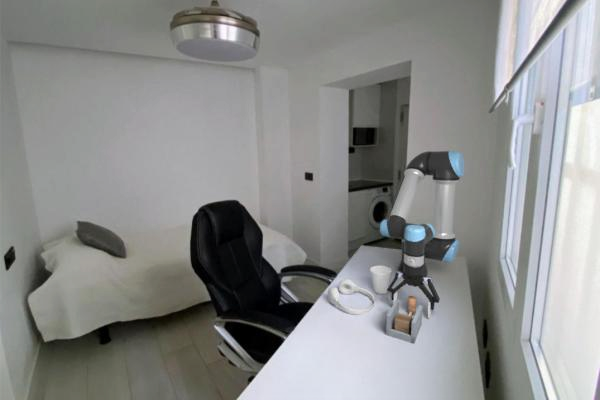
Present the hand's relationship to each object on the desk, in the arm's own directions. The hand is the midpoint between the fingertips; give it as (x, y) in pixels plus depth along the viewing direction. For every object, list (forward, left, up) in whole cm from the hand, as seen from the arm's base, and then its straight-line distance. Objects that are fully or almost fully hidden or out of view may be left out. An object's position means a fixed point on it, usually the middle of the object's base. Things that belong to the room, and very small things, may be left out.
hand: (411, 311), depth 124 cm
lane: (+12, 0, -1) cm, 13 cm away
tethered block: (+8, 0, -1) cm, 8 cm away
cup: (-12, -17, -1) cm, 21 cm away
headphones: (+4, -25, -1) cm, 25 cm away
